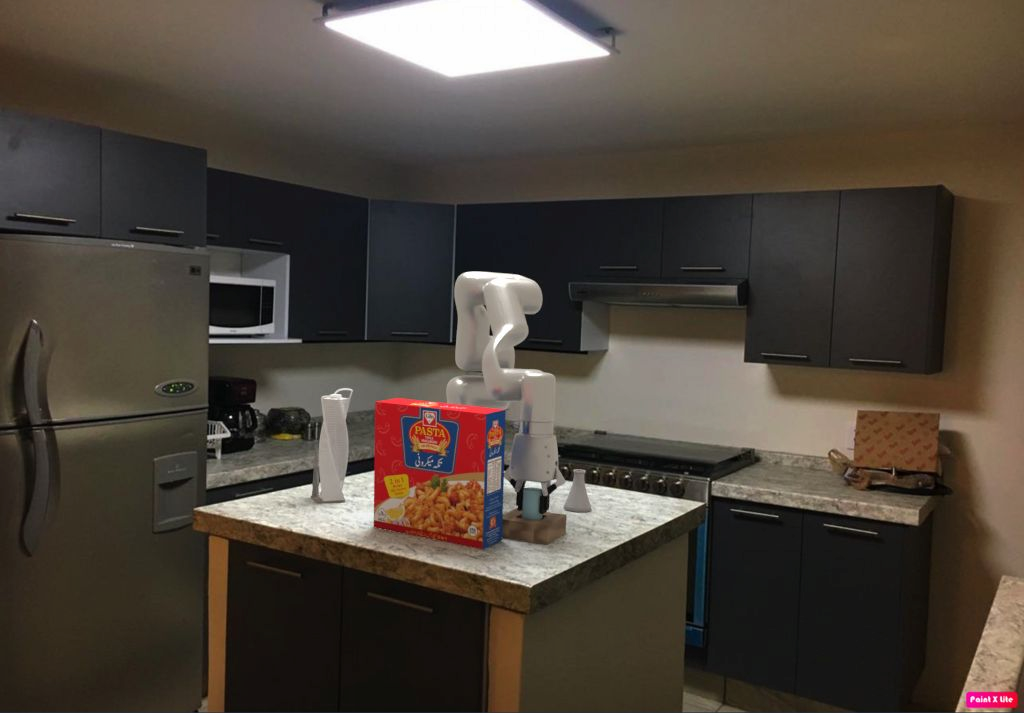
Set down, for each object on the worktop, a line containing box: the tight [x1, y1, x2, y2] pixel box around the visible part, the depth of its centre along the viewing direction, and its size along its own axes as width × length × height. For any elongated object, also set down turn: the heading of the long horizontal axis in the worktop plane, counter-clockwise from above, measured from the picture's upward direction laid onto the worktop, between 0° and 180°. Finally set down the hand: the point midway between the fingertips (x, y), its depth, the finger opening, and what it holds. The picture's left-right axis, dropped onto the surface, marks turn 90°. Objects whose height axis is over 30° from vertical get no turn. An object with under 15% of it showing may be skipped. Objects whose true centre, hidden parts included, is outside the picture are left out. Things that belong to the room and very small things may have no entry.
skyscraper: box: [310, 387, 354, 504], centre depth 210 cm, size 8×8×28 cm
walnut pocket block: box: [502, 507, 567, 545], centre depth 186 cm, size 12×12×4 cm
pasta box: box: [373, 397, 506, 550], centre depth 181 cm, size 28×8×28 cm, turn 61°
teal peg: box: [522, 487, 542, 521], centre depth 186 cm, size 4×4×10 cm
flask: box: [563, 468, 592, 513], centre depth 213 cm, size 7×7×10 cm
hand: (532, 510), depth 186 cm, fingers closed on teal peg, 4 cm apart
